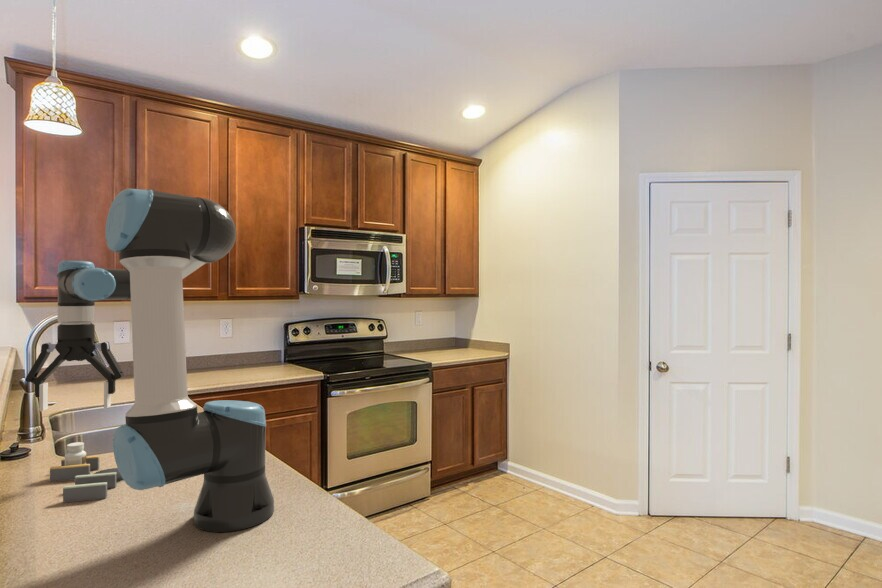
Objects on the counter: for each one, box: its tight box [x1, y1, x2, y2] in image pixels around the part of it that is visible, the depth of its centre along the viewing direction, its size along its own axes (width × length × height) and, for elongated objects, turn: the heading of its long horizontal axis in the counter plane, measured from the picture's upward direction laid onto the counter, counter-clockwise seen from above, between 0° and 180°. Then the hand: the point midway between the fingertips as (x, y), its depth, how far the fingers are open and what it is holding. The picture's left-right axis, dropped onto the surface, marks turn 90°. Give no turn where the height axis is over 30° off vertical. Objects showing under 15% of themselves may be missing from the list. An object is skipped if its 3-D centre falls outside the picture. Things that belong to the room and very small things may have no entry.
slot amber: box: [49, 455, 100, 483], centre depth 127 cm, size 8×8×3 cm
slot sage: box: [62, 472, 117, 503], centre depth 115 cm, size 8×8×3 cm
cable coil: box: [93, 467, 124, 484], centre depth 124 cm, size 7×7×2 cm
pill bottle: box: [64, 441, 87, 466], centre depth 127 cm, size 4×4×8 cm
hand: (76, 408), depth 127 cm, fingers open, 13 cm apart
